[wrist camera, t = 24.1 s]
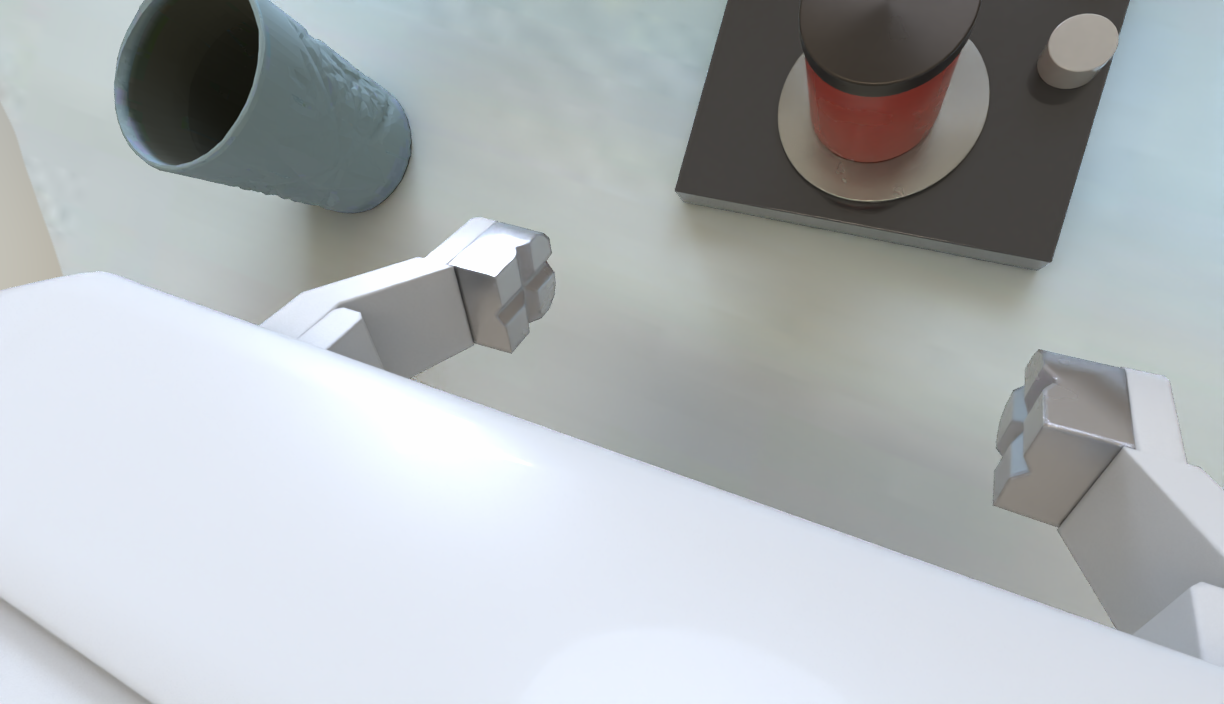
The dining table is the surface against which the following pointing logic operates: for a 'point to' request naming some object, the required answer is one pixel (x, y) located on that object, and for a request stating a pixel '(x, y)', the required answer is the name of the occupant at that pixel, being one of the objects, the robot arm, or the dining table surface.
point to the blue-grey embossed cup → (256, 105)
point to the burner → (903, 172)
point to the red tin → (880, 70)
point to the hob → (969, 196)
